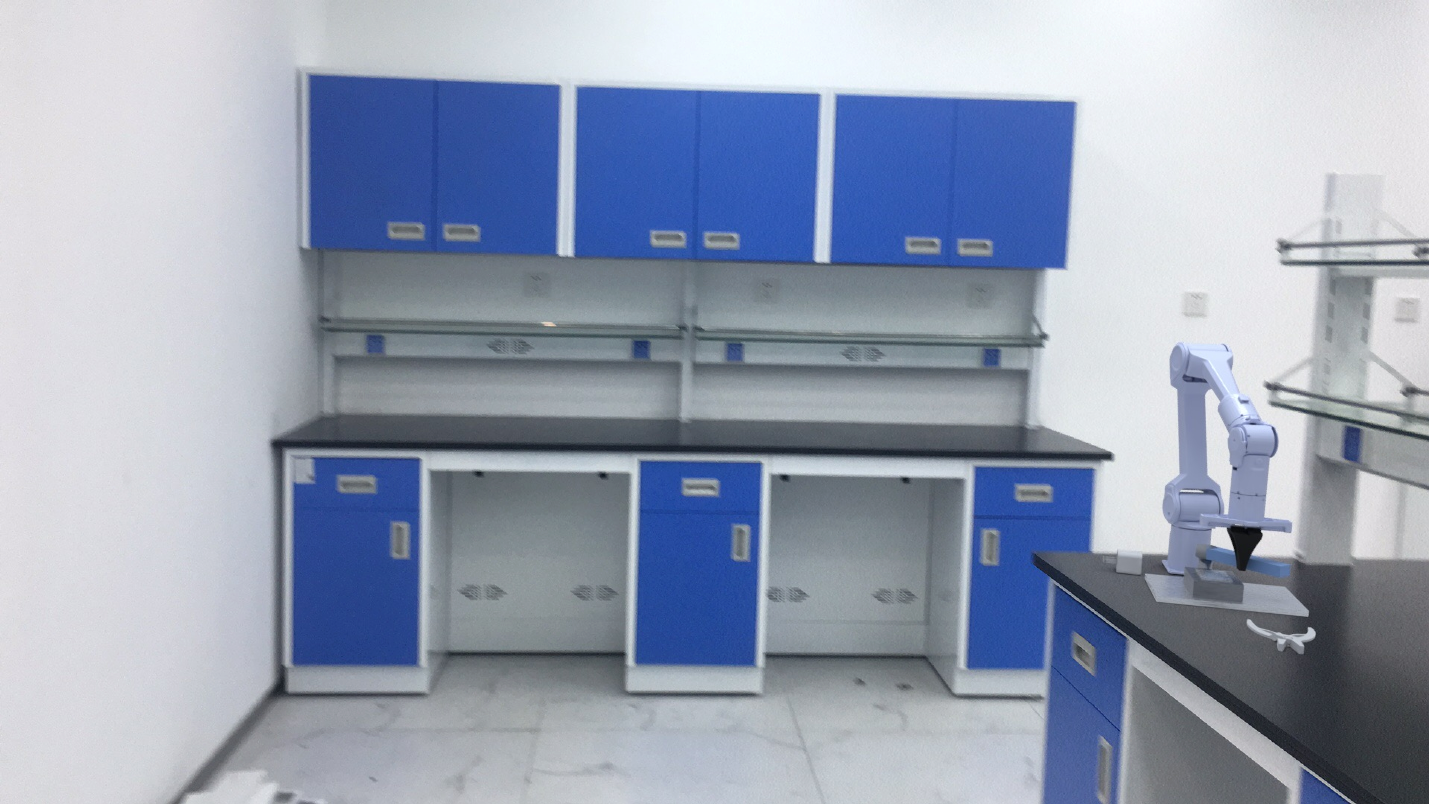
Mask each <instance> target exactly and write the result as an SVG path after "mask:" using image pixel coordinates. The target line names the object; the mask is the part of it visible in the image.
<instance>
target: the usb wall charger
mask: <svg viewBox="0 0 1429 804" xmlns="http://www.w3.org/2000/svg"><path fill="white" fill-rule="evenodd" d="M1102 562H1103V563H1107V564H1115V570H1116V571H1115V572H1116V574H1125V575H1126V574H1127V575H1134V576H1141V575H1142V565H1143V552H1142V551H1139V550H1138V551H1137V550H1130V549H1129V550H1128V549H1119V548H1117V550H1116V557H1114V556H1102Z"/></svg>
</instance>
